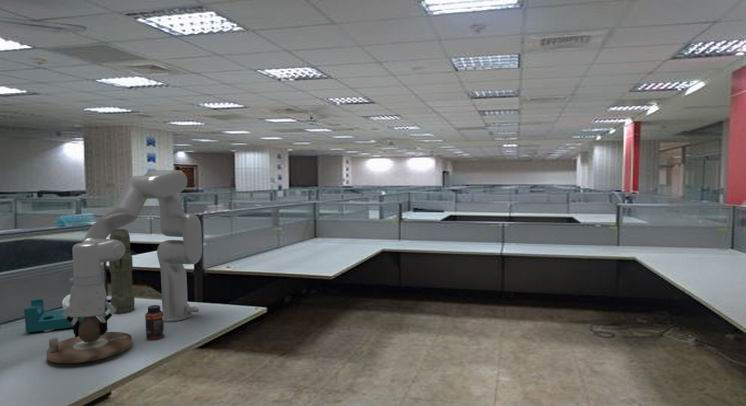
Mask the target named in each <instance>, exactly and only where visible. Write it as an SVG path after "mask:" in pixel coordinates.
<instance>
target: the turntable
mask: <svg viewBox="0 0 746 406" xmlns="http://www.w3.org/2000/svg"><path fill="white" fill-rule="evenodd" d="M132 344H133V336H132V335H131V334H129V333H126V332H121V331H106V333H105V334H104V335H101V337H100V338H99V339H98V340H97V341H94V342H84V341H82V340H81V339H80V337H79V336H78V337H75V336H73V337H69V338H67V339H64V340H61V341H59V338H58V337H52V338H49V339H48V348H47V349H46V353H45V354H46V359H47V360H48V361H50V362H52V363H58V364H76V363H77V364H78V363H85V362H92V361H96V360H100V359H101V360H102V359H104V358H109V357H111V356H114V355H117V354H119V353H122V352H123V351H125V350H127V349H129V348H130V347H131V346H132Z"/></svg>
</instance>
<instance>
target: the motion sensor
mask: <svg viewBox="0 0 746 406" xmlns="http://www.w3.org/2000/svg"><path fill="white" fill-rule="evenodd" d="M61 304H62V305H61V306H62V308H63V310H66V309H67V308H68V307H69V306H70V294H67V295H66V296H65V297H64V298H63V299H62V303H61Z"/></svg>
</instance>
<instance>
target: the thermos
mask: <svg viewBox="0 0 746 406" xmlns="http://www.w3.org/2000/svg"><path fill="white" fill-rule="evenodd" d="M130 237H131V235H130V233H129V232H128V230H127V229H125V228H121V229H120V228H118V229H116V230H115V231H113V232H112V233H111V234H110V235H109V239H115V240H119V241H121V242H122V243H123V244H124V246H125V254H124V255H123V257H122V258H120V259H119V260H117V261H113V262H108V266H109V267H108V269H109V273H110V284H111V298H110V304H111V305H112V306H114V307H115V308H117V310H116V312H115V313H114V314H113V315H124V314H129V313H132V312H134V311H135V295H134V292H133V269H134V266H133V265H134V264H133V256H132V253H131V238H130Z"/></svg>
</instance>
